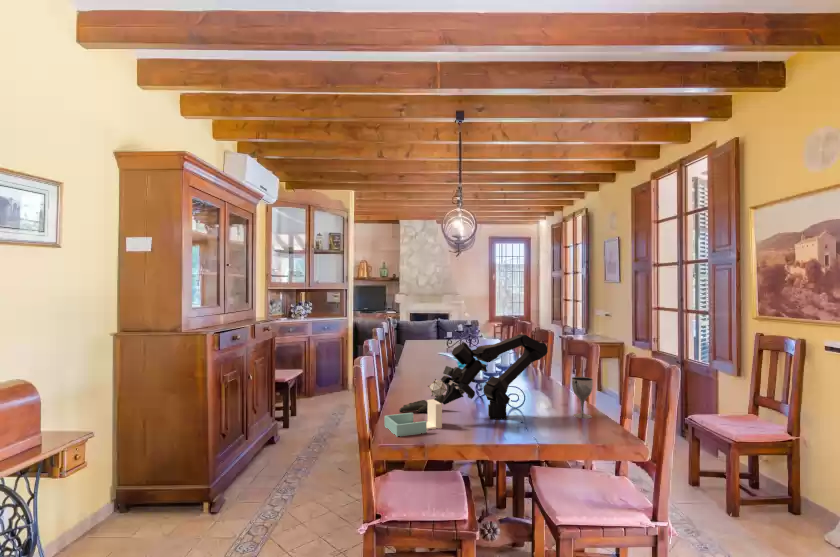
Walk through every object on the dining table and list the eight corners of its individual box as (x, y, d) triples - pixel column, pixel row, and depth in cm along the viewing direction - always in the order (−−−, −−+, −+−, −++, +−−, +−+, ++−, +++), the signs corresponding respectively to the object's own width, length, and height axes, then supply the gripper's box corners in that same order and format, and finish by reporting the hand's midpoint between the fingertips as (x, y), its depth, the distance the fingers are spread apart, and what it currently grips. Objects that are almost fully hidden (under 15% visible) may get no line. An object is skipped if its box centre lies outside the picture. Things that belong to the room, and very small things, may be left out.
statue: (401, 420, 195) (448, 408, 198) (399, 408, 194) (446, 396, 197) (399, 414, 201) (444, 402, 204) (397, 402, 200) (442, 391, 203)
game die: (434, 403, 227) (429, 384, 232) (451, 397, 226) (445, 378, 231) (429, 398, 219) (424, 378, 225) (446, 392, 218) (440, 372, 224)
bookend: (433, 422, 183) (433, 399, 183) (442, 428, 176) (441, 403, 176) (410, 425, 179) (410, 401, 179) (418, 431, 172) (418, 406, 172)
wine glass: (593, 414, 193) (593, 377, 193) (592, 419, 186) (591, 381, 186) (573, 412, 197) (573, 376, 197) (570, 417, 189) (570, 379, 190)
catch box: (412, 422, 182) (412, 412, 183) (426, 432, 170) (426, 421, 170) (384, 426, 178) (384, 415, 178) (396, 436, 166) (396, 425, 166)
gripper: (445, 355, 191) (419, 384, 187) (467, 362, 174) (440, 395, 170) (462, 373, 194) (437, 403, 190) (486, 382, 177) (459, 415, 173)
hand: (443, 403), depth 180 cm, fingers closed
